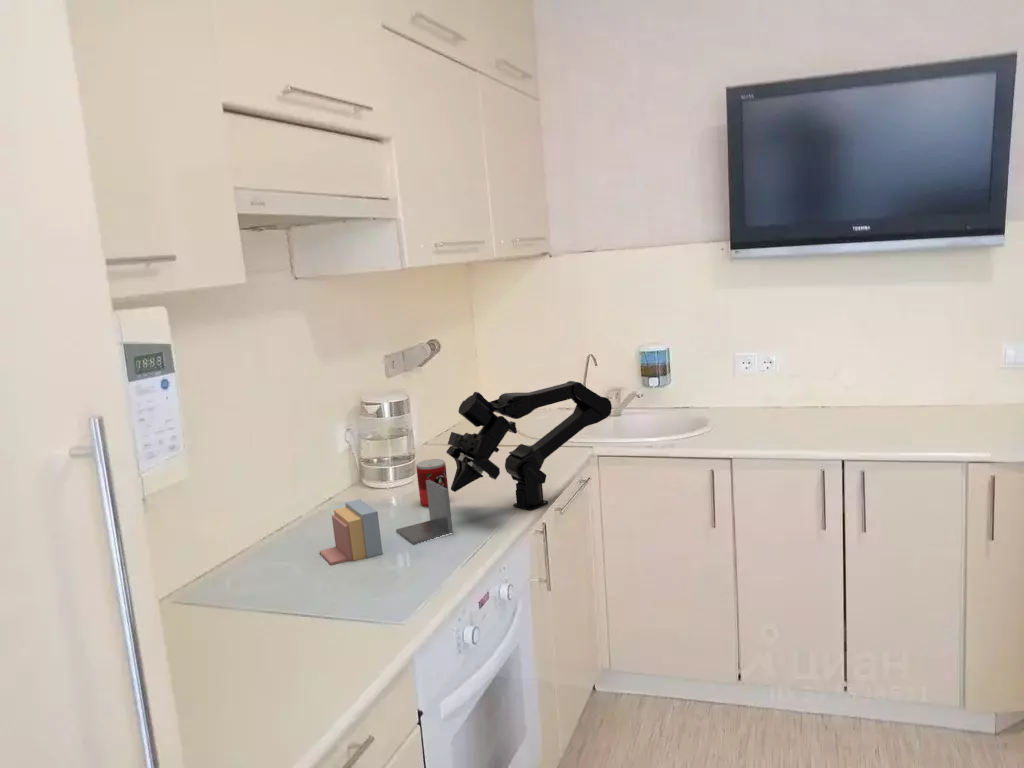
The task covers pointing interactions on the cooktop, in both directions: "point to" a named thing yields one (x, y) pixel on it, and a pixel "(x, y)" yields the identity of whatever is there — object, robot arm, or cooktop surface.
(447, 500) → the bookend
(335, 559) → the book row
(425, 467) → the canned food
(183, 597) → the cooktop surface
